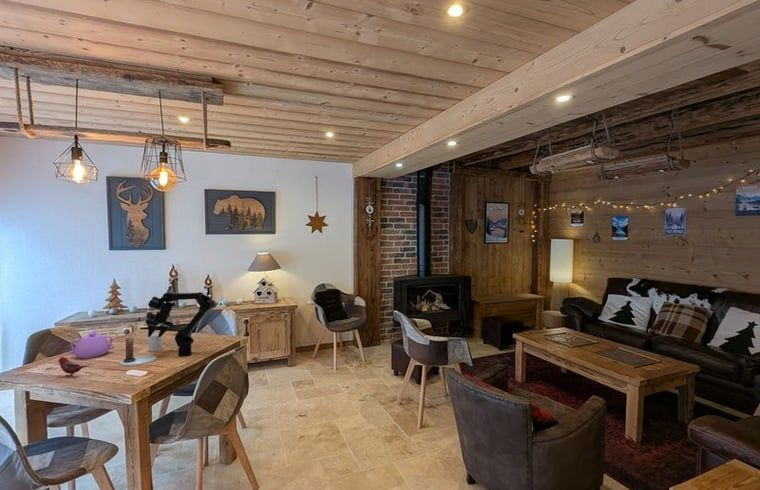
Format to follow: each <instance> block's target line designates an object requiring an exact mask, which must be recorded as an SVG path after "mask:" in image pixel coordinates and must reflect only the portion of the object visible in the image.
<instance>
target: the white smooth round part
mask: <svg viewBox="0 0 760 490" xmlns="http://www.w3.org/2000/svg"><path fill="white" fill-rule="evenodd" d="M133 358H135V361H134V362H129V363H124V359H126V357H125V358H123V359H121V360H120V361H119V365H120V366H122V367H136V366H142V365H147V364H150V363H152V362H155V361H156V360H157V356H156V355H154V354H139V355H133Z"/></svg>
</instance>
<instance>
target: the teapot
mask: <svg viewBox="0 0 760 490" xmlns="http://www.w3.org/2000/svg"><path fill="white" fill-rule="evenodd" d="M107 338H109V342H108V340H107ZM76 341H78V342H77V343H76V345H75V347H74V342H76ZM112 343H113V336H111V335H103V334H97V329H95V328H94V329H93V330H92V332H90V333H88V335H85V336H82V337H81V338H75V339H72V340H71V342H70V348H71V349H69V351H68V354H69V355H74V356H75V357H76V358H79V359H90V358H96V357H98V358H99V357H102V356H103V355H105V354H107V353H108V351H109V350H114V349H115V345H114V344H112Z"/></svg>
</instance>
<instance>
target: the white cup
mask: <svg viewBox="0 0 760 490" xmlns="http://www.w3.org/2000/svg"><path fill="white" fill-rule="evenodd" d="M158 335H159V332H153V334H152V335H151V336H150V337H148V336H147V345H148V352H158V351H161V350H162V342H163V335H162V336H161V337H158Z"/></svg>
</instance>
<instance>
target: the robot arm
mask: <svg viewBox="0 0 760 490" xmlns="http://www.w3.org/2000/svg"><path fill="white" fill-rule="evenodd" d="M178 300H179V301H182V300H183V301H184V300H185V301H186V300H196V302H197V304H198V306H199V308H198V312H197V313H196V314H195V315H194V316H193V318H192V319H191V320H190V322H189V323H188V324H187V326H186V327H184V328H181V329H179V330H178V332H177V333H176V334H175V336H174V341H175V343H176V345H177V349H178V351H177V352H178V353H177V354H178V357H180V358H181V357H187V356H188V357H189V356H191V355H192V354H193V352H192V344H193V343H194V341H195V340H194V339H193V337H192V334H193V331H194V330H195V329H196V328H197V326H198V325H199V323H200V322H201V321H202V319H203V318H205V316H206V315H207V314H208V313H209V312H211V311H213V310H214V309H215V307H216V302H215V301H214V300H213V299H211V298H210V297H209V296H207V295H205V293H203V292H201V291H199V292H181V293H180V292H177V291H169V292H165V293H163V294H162V296H161V297H160V298H159V297H158V296H153V297H152V299H150V300H149V302H148V307H149V308H151V309H155V310H159V311H157V312H156V313H153V312H147V314H146V315H145V317H146V318H147V319H145V321H144V323H145V324H146V326H147V329H148V330H147V331H148V332H147V338H148V337H150V336H151V335H152V334H153V333H155V331H156V330H157V328H158V326H160V330H159V332H158V333H159V335H158V337H161V336H162V337H163V335H164V334H165V333H166V332H168V330H169V329H172V328H173V326H174V322H172V321H169V320H168V319H169V317H171V313H172V312H171V311H172V309H173V307H175V308H176V307H178V306H177V304H176V302H175V301H178Z"/></svg>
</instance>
